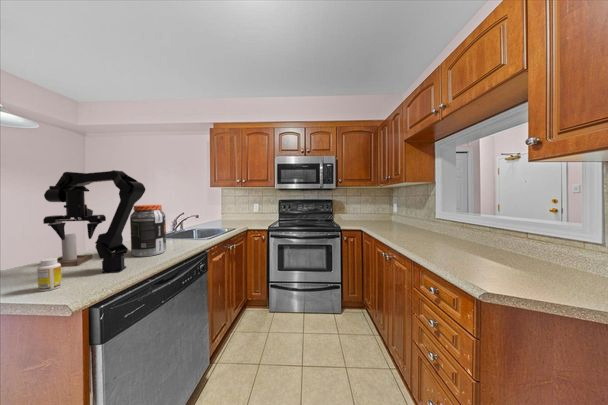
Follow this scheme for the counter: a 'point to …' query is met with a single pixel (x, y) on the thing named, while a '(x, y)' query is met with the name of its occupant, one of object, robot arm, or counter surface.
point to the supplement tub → (148, 230)
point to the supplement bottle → (49, 274)
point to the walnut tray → (76, 262)
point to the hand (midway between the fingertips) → (76, 239)
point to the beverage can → (69, 248)
